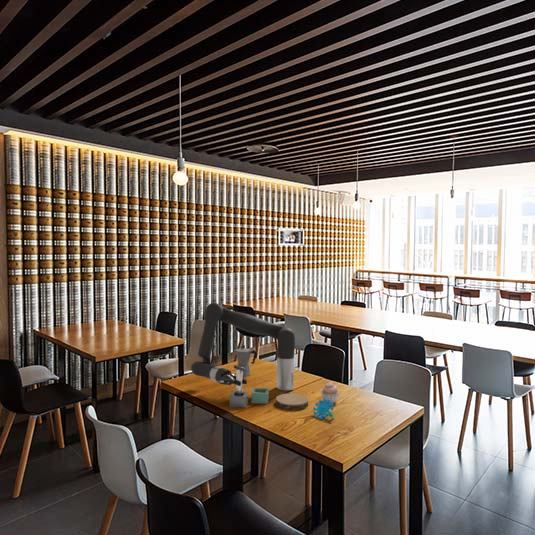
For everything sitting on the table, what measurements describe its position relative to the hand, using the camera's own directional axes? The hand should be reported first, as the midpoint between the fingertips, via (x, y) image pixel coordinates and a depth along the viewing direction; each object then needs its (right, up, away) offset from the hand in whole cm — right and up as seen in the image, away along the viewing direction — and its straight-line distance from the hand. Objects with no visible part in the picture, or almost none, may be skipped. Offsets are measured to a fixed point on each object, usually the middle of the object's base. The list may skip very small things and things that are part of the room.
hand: (243, 382), depth 199 cm
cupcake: (+43, -12, +9) cm, 46 cm away
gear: (+37, -13, -11) cm, 41 cm away
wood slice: (+24, -12, +4) cm, 27 cm away
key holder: (+8, -11, +8) cm, 16 cm away
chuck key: (-2, -11, +2) cm, 11 cm away
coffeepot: (-2, -10, +52) cm, 53 cm away
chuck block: (-2, -11, +2) cm, 12 cm away
